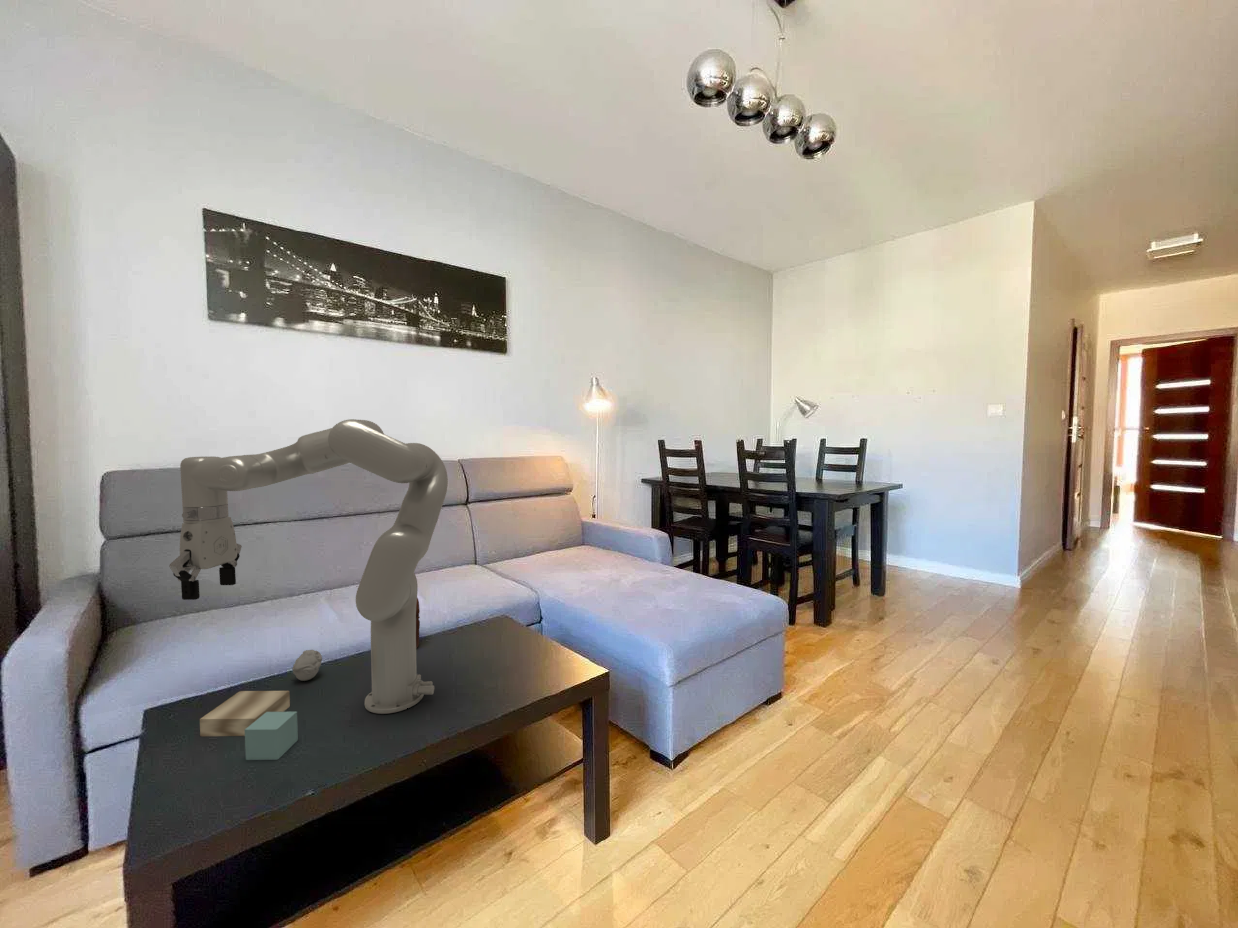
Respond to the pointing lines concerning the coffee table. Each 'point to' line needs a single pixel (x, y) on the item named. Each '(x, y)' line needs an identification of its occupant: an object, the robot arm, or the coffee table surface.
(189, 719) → the coffee table surface
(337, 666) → the coffee table surface
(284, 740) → the teal cube
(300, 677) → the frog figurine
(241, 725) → the birch block
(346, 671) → the coffee table surface
